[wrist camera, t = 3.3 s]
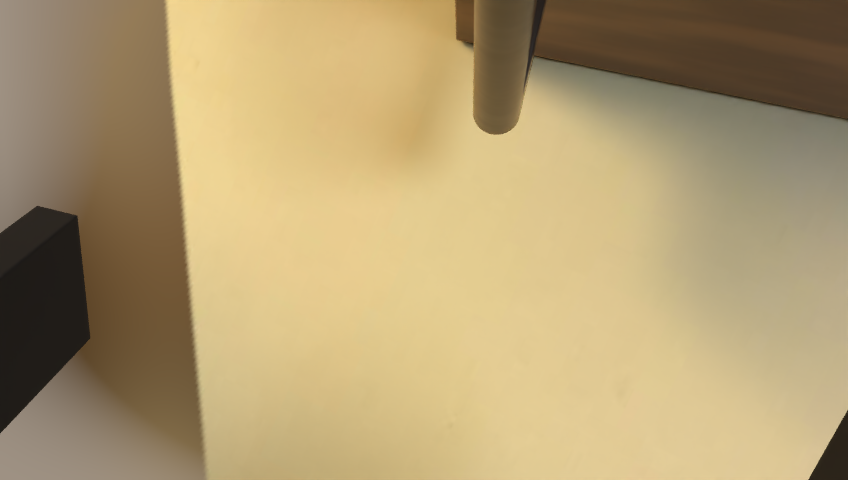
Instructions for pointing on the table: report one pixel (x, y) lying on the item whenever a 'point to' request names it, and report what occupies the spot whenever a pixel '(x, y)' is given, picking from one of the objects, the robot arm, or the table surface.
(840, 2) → the cupboard door
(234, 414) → the table surface
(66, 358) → the robot arm
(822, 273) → the table surface
